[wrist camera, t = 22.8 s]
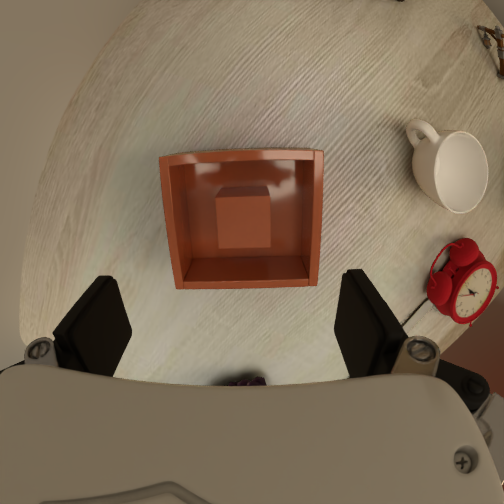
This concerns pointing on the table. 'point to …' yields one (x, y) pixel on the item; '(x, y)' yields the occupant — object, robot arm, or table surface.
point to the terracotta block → (243, 217)
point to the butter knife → (417, 316)
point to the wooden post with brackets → (502, 50)
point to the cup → (448, 166)
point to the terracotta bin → (282, 216)
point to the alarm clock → (463, 282)
